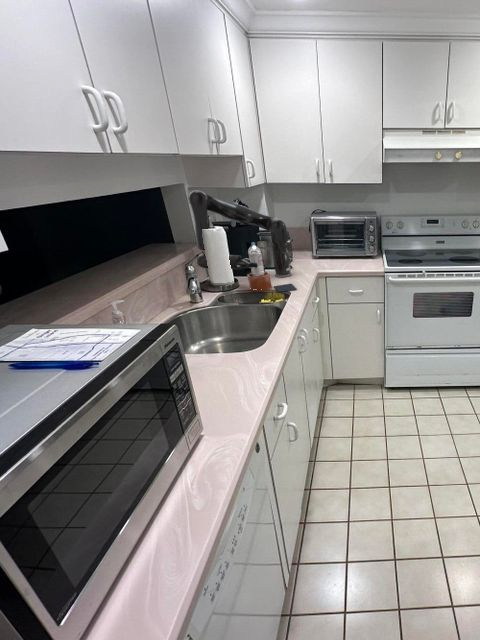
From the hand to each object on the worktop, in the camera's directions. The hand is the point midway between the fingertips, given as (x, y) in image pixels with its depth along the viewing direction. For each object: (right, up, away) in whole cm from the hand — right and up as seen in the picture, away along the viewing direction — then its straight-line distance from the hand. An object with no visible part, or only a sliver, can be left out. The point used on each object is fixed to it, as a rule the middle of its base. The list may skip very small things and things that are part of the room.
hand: (260, 263), depth 207 cm
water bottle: (-2, -12, +7) cm, 14 cm away
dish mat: (+12, -12, +7) cm, 18 cm away
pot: (-2, -12, +7) cm, 14 cm away
